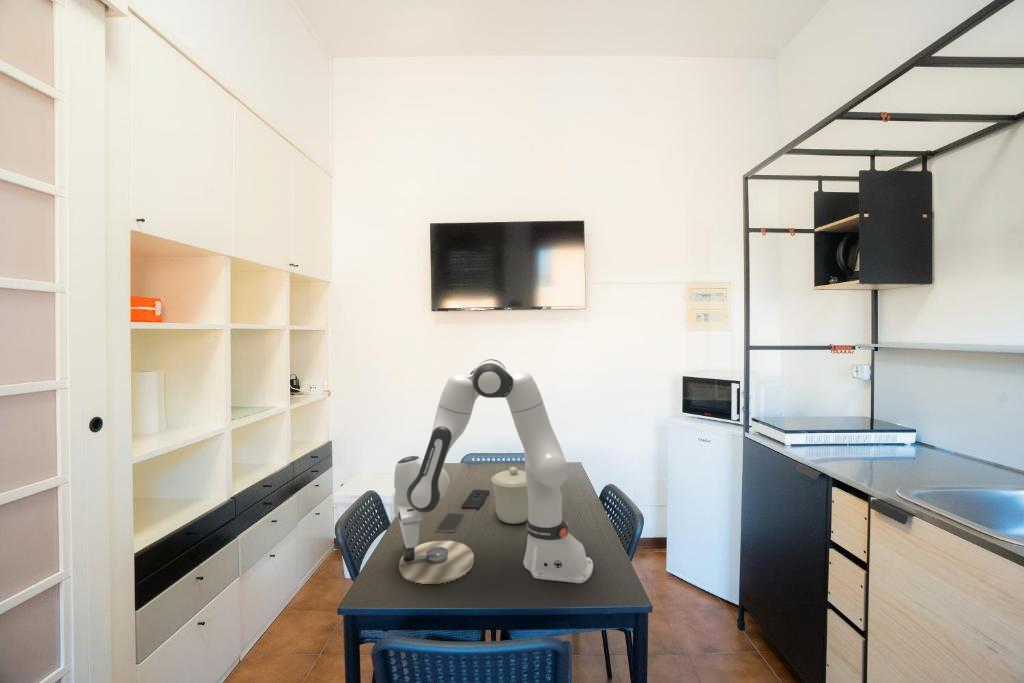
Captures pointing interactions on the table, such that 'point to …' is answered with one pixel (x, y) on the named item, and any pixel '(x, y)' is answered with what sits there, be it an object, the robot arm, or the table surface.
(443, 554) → the crank handle
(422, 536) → the table surface
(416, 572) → the base
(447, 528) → the smartphone
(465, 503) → the smart home device
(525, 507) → the canister
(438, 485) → the robot arm
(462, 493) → the table surface
